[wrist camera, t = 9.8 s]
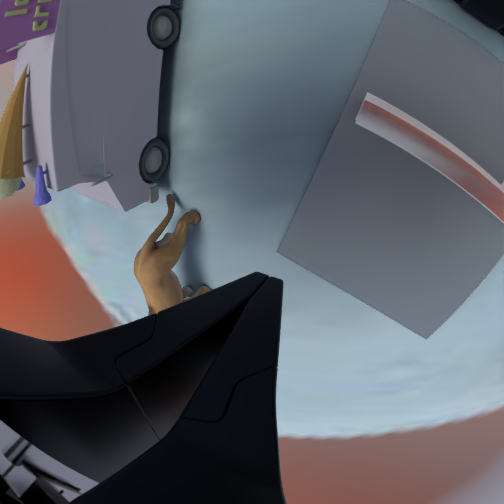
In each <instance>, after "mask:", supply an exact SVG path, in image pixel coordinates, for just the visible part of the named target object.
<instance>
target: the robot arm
mask: <svg viewBox="0 0 504 504" xmlns="http://www.w3.org/2000/svg"><path fill="white" fill-rule="evenodd" d="M454 1H456V2H457V3H459V4H460V5H462V6H463V7H464V8H465V9H466V10H468V11H469V12H471V13H472V14H474V15H475V16H477V17H478V18H480V19H481V20H483V21H484V22H485V23H487V24H488V25H489V26H491V27H492V28H493V29H495V30H498V31H499V32H500V33H501V34H503V35H504V0H454ZM282 299H283V280H281V279H278V278H275V277H269V276H268V275H266V274H263V273H260V272H254V273H252V274H249V275H247V276H245V277H242V278H240V279H237V280H235V281H233V282H230V283H228V284H225V285H223V286H221V287H218V288H216V289H213V290H211V291H208V292H206V293H204V294H201V295H199V296H196V297H194V298H191V299H189V300H186V301H184V302H182V303H179V304H177V305H174V306H172V307H169V308H167V309H164V310H162V311H159V312H158V313H157V314H156V313H154V314H151V315H149V316H146V317H144V318H141V319H138V320H136V321H133V322H130V323H127V324H124V325H121V326H118V327H114V328H111V329H108V330H104V331H101V332H97V333H93V334H90V335H86V336H82V337H78V338H75V339H71V340H66V341H46V340H41V339H38V338H34V337H30V336H26V335H22V334H19V333H16V332H12V331H9V330H6V329H2V328H0V504H286V500H285V496H284V492H283V487H282V481H281V472H280V461H279V447H278V432H277V419H276V382H277V370H278V369H277V367H278V356H279V343H280V329H281V315H282Z"/></svg>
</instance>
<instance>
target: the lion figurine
mask: <svg viewBox="0 0 504 504" xmlns="http://www.w3.org/2000/svg"><path fill="white" fill-rule="evenodd" d="M166 198H167V204H168V213H167V216H166V217H165V219H164V220H163V221H162V222H161V224H160V225H159V226H158V227H157V228H156V229H155V231H154V232H153V233H152V234H151V235H150V237H149V238H148V240H147V241H146V243H145V244H144V246H143V247H142V249H141V250H140V251H139V252H138V253H137V255H136V257H135V261H134V274H135V277H136V279H137V280H138V282H139V284H140V286H141V288H142V290H143V292H144V295H145V298H146V302H147V305H148V308H149V315H151V314H154V313H156V314H157V313H158V312H159V311H162V310H164V309H167V308H169V307H172V306H174V305H177V304H179V303H182V302H184V301H186V300H189V299H191V298H194V297H196V296H199V295H201V294H204V293H206V292H208V291H211V289H210V288H209V287H207V286H201V287H200V288H199V289H198V290H197V291H196V293H195V294H194V293H193V290H192V289H191V288H190V287H188V286H185V287H183V288H181V285H180V282H179V280H178V278H177V276H176V274H175V273H174V272H173V271H172V270H171V269H172V268H173V267H174V266H175V264H176V263H177V261H178V259H179V257H180V255H181V253H182V251H183V248H184V244H185V239H186V234H187V229H188V226H189V223H190V224H191V225H192V226H195V225H196V224H198V223H199V221H200V216H199V214H198V213H197V212H195V211H189V212H187V213H185V214H184V215H183V217H182V218H181V219H180V220H179V221H178V223H177V227H176V231H175V233H174V234H172V233H166V234H165V236H164V237H163V239H161V240H160V241H157V242H155V241H156V240H157V239H158V237H159V236H160V235H161V234H162V232H163V231H164V229H165V228H166V226H167V225H168V223H169V221H170V220H171V218H172V216H173V213H174V207H175V199H174V198H173V196H172V195H171V194H168V195H167V196H166ZM193 294H194V295H193ZM187 296H188V297H191V298H187V299H185V300H183V299H184V298H186V297H187ZM149 315H148V316H149Z"/></svg>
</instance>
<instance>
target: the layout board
mask: <svg viewBox="0 0 504 504" xmlns="http://www.w3.org/2000/svg"><path fill="white" fill-rule="evenodd" d="M365 99H367V100H369V101H371V102H373V103H375V104H377V105H379V106H381V107H383V108H385V109H387V110H389V111H390V112H392V113H394V114H396V115H398V116H400V117H401V118H403V119H405V120H407V121H408V122H410V123H412V124H413V125H415V126H417V127H418V128H420V129H422V130H423V131H425V132H426V133H428V134H429V135H431V136H433V137H434V138H436V139H437V140H439V141H440V142H442V143H443V144H445V145H446V146H447V147H449V148H450V149H452V150H453V151H454V152H456V153H457V154H459V155H460V156H461V157H463V158H464V159H465V160H467V161H468V162H469V163H470V164H472V165H473V166H474V167H476V168H477V169H478V170H479V171H480V172H482V173H483V174H484V175H485V176H486V177H488V178H489V179H490V180H491V181H492V182H493V183H495V184H496V185H497V186H498V187H499V188H500V189H501V190H502V191H504V63H503V62H501V61H500V60H499V59H498V58H497V57H495V56H494V55H493V54H492V53H490V52H489V51H488V50H486V49H485V48H484V47H482V46H481V45H480V44H478V43H477V42H476V41H474V40H473V39H471V38H470V37H468V36H467V35H466V34H464V33H463V32H461V31H459V30H458V29H456V28H455V27H453V26H452V25H450V24H448V23H447V22H445V21H443V20H442V19H440V18H438V17H436V16H435V15H433V14H431V13H429V12H427V11H425V10H423V9H421V8H420V7H418V6H416V5H413V4H411V3H409V2H407V1H405V0H390V1H389V4H388V6H387V9H386V11H385V14H384V16H383V19H382V21H381V23H380V26H379V28H378V31H377V33H376V35H375V38H374V40H373V43H372V45H371V47H370V50H369V52H368V54H367V57H366V59H365V61H364V64H363V66H362V68H361V71H360V73H359V75H358V78H357V80H356V82H355V85H354V87H353V89H352V91H351V94H350V96H349V98H348V100H347V103H346V105H345V107H344V109H343V112H342V114H341V116H340V118H339V121H338V123H337V125H336V127H335V129H334V132H333V134H332V136H331V138H330V140H329V143H328V145H327V147H326V149H325V151H324V154H323V156H322V158H321V160H320V162H319V164H318V166H317V169H316V171H315V173H314V175H313V177H312V179H311V181H310V184H309V186H308V188H307V190H306V192H305V194H304V196H303V198H302V201H301V203H300V205H299V207H298V209H297V211H296V213H295V215H294V217H293V219H292V221H291V224H290V226H289V228H288V230H287V232H286V234H285V236H284V238H283V240H282V242H281V244H280V246H279V248H278V250H277V253H279V254H281V255H283V256H284V257H286V258H288V259H290V260H291V261H293V262H295V263H297V264H298V265H300V266H302V267H304V268H305V269H307V270H309V271H311V272H312V273H314V274H316V275H318V276H319V277H321V278H323V279H324V280H326V281H328V282H330V283H331V284H333V285H335V286H337V287H338V288H340V289H342V290H343V291H345V292H347V293H349V294H350V295H352V296H354V297H355V298H357V299H359V300H361V301H362V302H364V303H366V304H367V305H369V306H371V307H373V308H374V309H376V310H378V311H379V312H381V313H383V314H384V315H386V316H388V317H389V318H391V319H393V320H395V321H396V322H398V323H400V324H401V325H403V326H405V327H406V328H408V329H410V330H411V331H413V332H415V333H416V334H418V335H420V336H421V337H423V338H425V339H427V338H428V337H429V336H431V335H432V334H433V333H434V332H435V331H436V330H437V329H438V328H439V327H440V326H441V325H442V324H443V323H444V322H445V321H446V320H447V319H448V318H449V317H450V316H451V315H452V314H453V313H454V312H455V311H456V310H457V309H458V308H459V307H460V306H461V305H462V304H463V303H464V301H465V300H466V299H467V298H468V297H469V296H470V295H471V294H472V293H473V291H474V290H475V289H476V288H477V287H478V286H479V284H480V283H481V282H482V281H483V280H484V279H485V277H486V276H487V275H488V274H489V272H490V271H491V270H492V269H493V267H494V266H495V265H496V263H497V262H498V261H499V260H500V258H501V257H502V255H503V254H504V224H503V223H502V221H501V220H499V219H498V218H497V217H496V216H495V215H494V214H493V213H491V212H490V211H489V210H488V209H487V208H486V207H484V206H483V205H482V204H481V203H480V202H478V201H477V200H476V199H475V198H473V197H472V196H471V195H470V194H468V193H467V192H466V191H464V190H463V189H462V188H461V187H459V186H458V185H456V184H455V183H454V182H452V181H451V180H450V179H448V178H447V177H445V176H444V175H443V174H441V173H440V172H438V171H437V170H435V169H434V168H432V167H431V166H429V165H428V164H426V163H425V162H423V161H422V160H420V159H419V158H417V157H415V156H414V155H412V154H410V153H409V152H407V151H406V150H404V149H402V148H400V147H399V146H397V145H395V144H394V143H392V142H390V141H388V140H386V139H385V138H383V137H381V136H379V135H377V134H375V133H374V132H372V131H370V130H368V129H366V128H364V127H362V126H360V125H358V124H356V123H355V122H356V120H357V117H358V115H359V113H360V110H361V108H362V106H363V103H364V101H365Z"/></svg>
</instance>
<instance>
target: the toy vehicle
mask: <svg viewBox="0 0 504 504" xmlns="http://www.w3.org/2000/svg"><path fill="white" fill-rule="evenodd" d="M170 1H171V0H0V64H3V63H5V62H8V61H11V60H14V59H16V60H15V74H14V91H13V93H12V95H11V98H10V100H9V102H8V104H7V106H6V109H5V111H4V114H3V116H2V119H1V122H0V199H4V198H7V197H9V196H11V195H13V193H14V192H15V191H18V190H20V189H22V188H23V187H25V184H24V182H23V181H22V177H25V178H27V179H29V180H32V181H34V182H36V186H35V197H34V205H35V206H41V205H44V204H47V203H48V202H50V201H51V196H50V194H49V193H48V191H47V189H46V187H48V188H51V189H53V190H56V191H58V192H59V191H62V190H64V189H66V188H69V187H71V186H72V188H73V189H74V191H75V192H76V193H78V194H80V195H83V196H86V197H88V198H91V199H94V200H96V201H99V202H102V203H104V204H107V205H109V206H112V207H115V208H117V209H120V210H123V211H128V210H130V209H132V208H134V207H136V206H138V205H140V204H142V203H144V202H146V201H147V202H150V203H154V202H155V201H157V200H158V198H159V190H158V186H157V183H154V182H151V181H154V180H156V179H159V177H160V176H161V175H162V174H163V173H164V171H165V170H166V168H167V165H168V161H169V152H168V147H167V146H166V144H165V143H164V142H163V141H162V140H160V139H157V138H155V137H157V123H158V104H159V89H160V77H161V67H162V58H163V50H161V48H165V47H167V46H169V45H170V44H171V43H173V42H174V40H175V39H176V37H177V36H178V32H179V20H178V18H177V16H176V14H175V13H174V12H173V11H171V10H174V9H178V6H179V5H176V4H173V3H170Z"/></svg>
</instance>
